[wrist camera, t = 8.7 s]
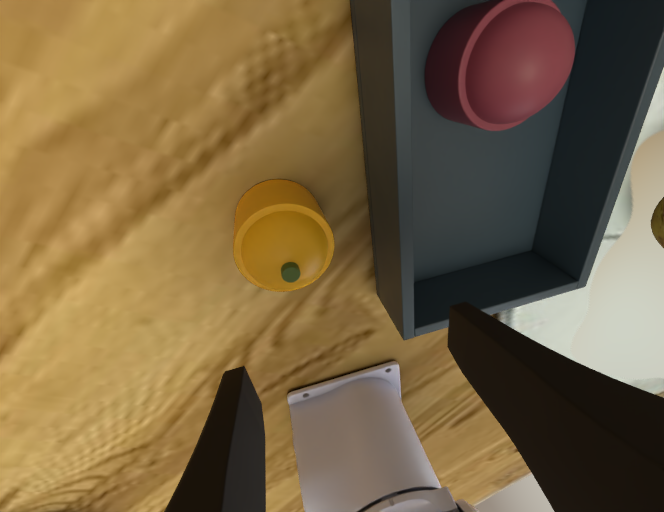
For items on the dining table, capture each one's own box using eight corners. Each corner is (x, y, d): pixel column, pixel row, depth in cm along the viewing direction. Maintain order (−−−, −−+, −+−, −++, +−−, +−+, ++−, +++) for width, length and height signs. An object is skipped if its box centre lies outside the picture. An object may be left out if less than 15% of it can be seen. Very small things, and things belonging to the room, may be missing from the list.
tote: (376, 294, 23) (403, 340, 19) (347, -24, 14) (388, -58, 10) (531, 251, 24) (585, 287, 20) (602, -62, 15) (726, -105, 11)
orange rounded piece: (248, 265, 19) (250, 331, 15) (222, 189, 17) (214, 240, 12) (326, 246, 20) (351, 303, 15) (312, 170, 17) (338, 210, 13)
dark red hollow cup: (423, 129, 17) (482, 151, 13) (424, 12, 14) (499, -8, 10) (508, 111, 18) (591, 126, 13) (524, -5, 15) (633, -31, 11)
